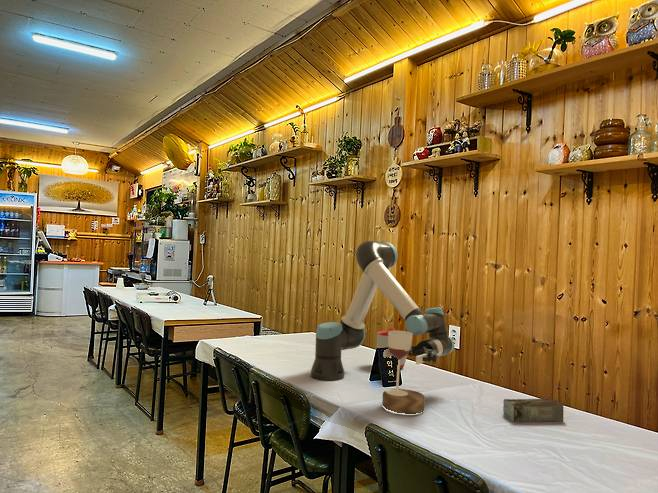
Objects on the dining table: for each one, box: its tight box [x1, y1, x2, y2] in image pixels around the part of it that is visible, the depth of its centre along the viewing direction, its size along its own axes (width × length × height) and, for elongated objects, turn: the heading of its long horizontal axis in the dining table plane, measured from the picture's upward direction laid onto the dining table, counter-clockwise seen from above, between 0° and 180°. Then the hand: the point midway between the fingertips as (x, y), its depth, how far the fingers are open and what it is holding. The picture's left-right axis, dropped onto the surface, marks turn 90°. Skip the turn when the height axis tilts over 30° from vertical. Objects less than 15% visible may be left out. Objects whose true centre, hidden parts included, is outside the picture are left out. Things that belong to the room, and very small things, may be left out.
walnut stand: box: [381, 388, 426, 414], centre depth 176 cm, size 15×15×5 cm
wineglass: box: [385, 330, 414, 396], centre depth 179 cm, size 9×10×22 cm
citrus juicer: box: [376, 326, 408, 370], centre depth 239 cm, size 16×17×20 cm
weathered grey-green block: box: [502, 397, 564, 423], centre depth 172 cm, size 8×19×7 cm, turn 98°
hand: (400, 356), depth 174 cm, fingers open, 13 cm apart
